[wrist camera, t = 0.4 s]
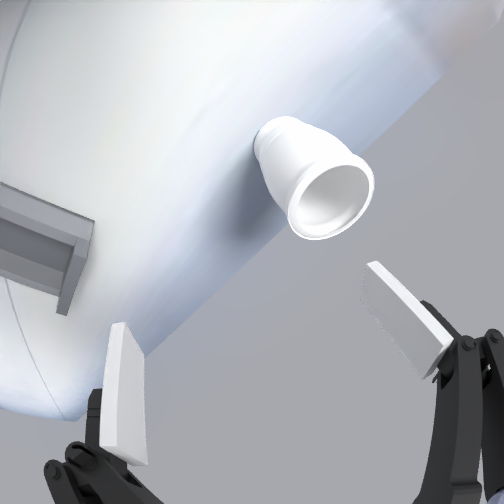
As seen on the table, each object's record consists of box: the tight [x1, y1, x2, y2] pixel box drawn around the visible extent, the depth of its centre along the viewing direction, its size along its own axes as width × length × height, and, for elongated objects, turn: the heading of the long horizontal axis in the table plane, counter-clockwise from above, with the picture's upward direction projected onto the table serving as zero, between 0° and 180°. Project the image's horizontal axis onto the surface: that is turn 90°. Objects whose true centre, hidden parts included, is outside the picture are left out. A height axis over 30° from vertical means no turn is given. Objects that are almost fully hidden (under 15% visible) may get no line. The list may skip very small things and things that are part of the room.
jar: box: [254, 117, 374, 240], centre depth 32 cm, size 11×10×15 cm
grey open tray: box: [0, 182, 94, 316], centre depth 27 cm, size 15×28×8 cm, turn 48°
